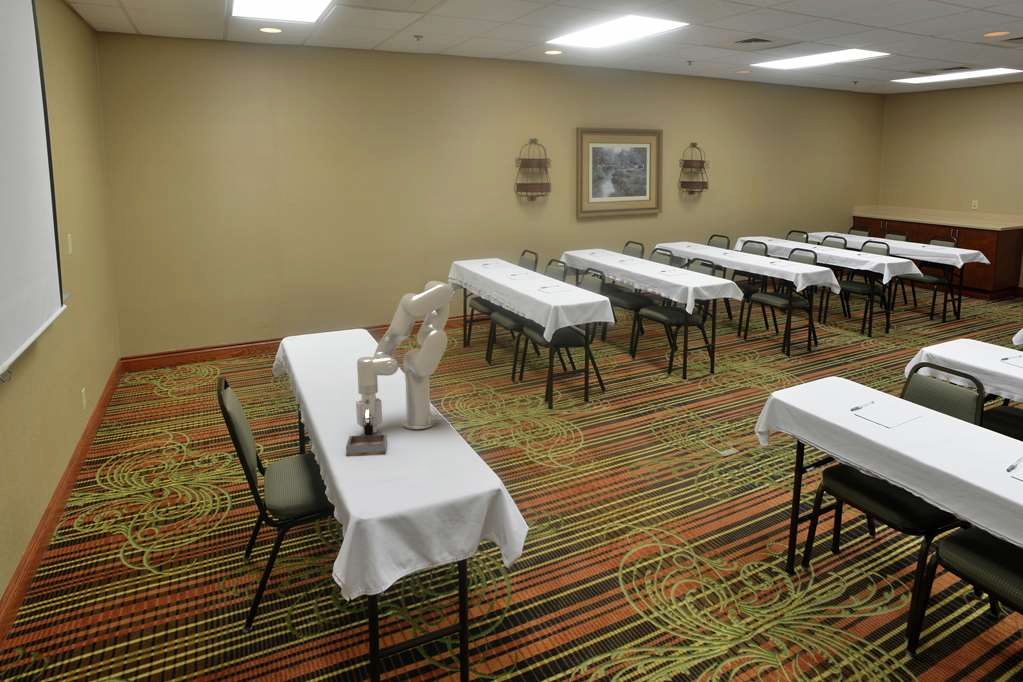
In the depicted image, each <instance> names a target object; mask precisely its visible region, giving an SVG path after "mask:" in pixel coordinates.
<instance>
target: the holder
mask: <svg viewBox="0 0 1023 682" xmlns="http://www.w3.org/2000/svg"><path fill="white" fill-rule="evenodd" d="M387 446H388V434H387V433H385V434H384V433H383V434H382V433H381V434H373V435H365V434H362V435H359V434H358V435H349V437H348V439H347V442H346V445H345V454H346V455H345V456H346V457H354V456H355V457H356V456H357V457H359V456H375V455H376V456H378V455H382V456H383V455H386V452H387Z"/></svg>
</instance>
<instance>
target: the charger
mask: <svg viewBox="0 0 1023 682" xmlns="http://www.w3.org/2000/svg"><path fill="white" fill-rule="evenodd" d="M367 402H368V401H367ZM355 406H356V409H355V410H356V425H359V426H360V427H361V428H362V431H363V433H362V435H365V433H364V425H365V419H364V418H363V413H362V400H358V401H355ZM382 407H383V406H382V400H381V399H380V398H377V397H376V418H375V419H374V418H372V425H373V434H374V433H376V432H377V431H378V425H381V424H382V423H383V409H382ZM369 412H370V411H369ZM364 417H365V416H364ZM369 417H371V416H369ZM369 420H370V419H369Z"/></svg>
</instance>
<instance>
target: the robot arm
mask: <svg viewBox="0 0 1023 682" xmlns="http://www.w3.org/2000/svg"><path fill="white" fill-rule="evenodd" d="M453 297H454V289H453V288H452V286H451V285H450V284H449V283H446V282H443V281H438V280H431V281H428V282H427V283H426V284H425V286H424V291H423V292H421V293H418V294H416V293H413V292H412V293H410V292H409V293H406V294H404V295H403V296H402V297H401V299H400V301H399V304H398V306H397V308H396V311H395V313H394V316H393V319H392V321H391V323H390V325H389V328H388V329H387V330H386V331H385V333H384V334H383V336H382V337H381V339H380V340H379V342H378V345H377V347H376V348H375V351H374V355H373V356H362V357H360V358H358V359H357V363H356V368H357V386H358V387H357V389H358V394H360V395H361V401H362V413H363V418H364V419H365V425H364V433H365V434H364V435H374V433H373V425H372V418H374V419H375V418H376V398H377V393H378V392H379V387H378V386H379V385H378V384H379V383H378V381H379V380H378V376H384V377H385V376H387V377H388V376H392V375H395V374H396V373H397V371H399V363H398V360H397V359H396V358H395V357H393V356H394V354H395V350H396V349H397V347H398V346H399V345H400V343H402V342H403V341H404V340H406V339H408V338H409V337H410V336H411V333H412V331H413V328H414V326H415V324H416V321H417V318H420V317H424V316H425V318H424V320H423V321H422V322H423V323H422V324H421V326H420V327H419V330H418V332H417V335H416V341H417V344H419V346H420V348H411V349H409V350H408V351H406V353H405V355H404V357H403V359H402V360H403V364H402V365H403V370H404V379H405V380H404V382H405V401H406V402H405V403H406V404H405V405H406V408H405V409H406V420H403V422H402V425H403V427H404V428H406V429H409V430H410V429H411V430H424V429H428V428H431V427H433V426H434V425H435V421H437V422H439V421H442V415H439V414H432V411H431V403H430V402H431V401H430V400H431V399H430V398H431V397H430V393H431V392H430V377H431V375H433V374H434V373H435V371H436V369H437V367H438V366H439V364H440V362H441V360H442V358H443V355H444V353H445V351H446V349H447V347H448V336H447V334H446V332H445V331H444V329H445V326H446V324H447V321H448V320H449V316H450V302H451V301H452V300H453ZM367 401H368V402H367ZM369 411H370V412H369ZM364 416H365V417H364ZM369 416H371V417H369ZM369 419H370V420H369Z"/></svg>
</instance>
